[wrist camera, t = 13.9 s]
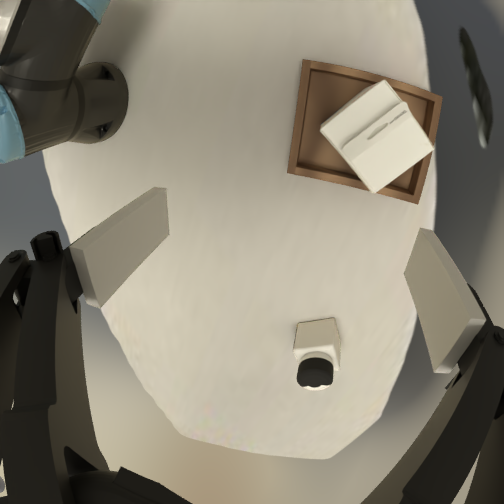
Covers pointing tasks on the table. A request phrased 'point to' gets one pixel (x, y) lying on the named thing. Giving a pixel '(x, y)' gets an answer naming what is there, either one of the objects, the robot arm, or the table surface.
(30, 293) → the robot arm
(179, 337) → the table surface
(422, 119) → the walnut tray
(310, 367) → the medicine bottle
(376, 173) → the ink box
